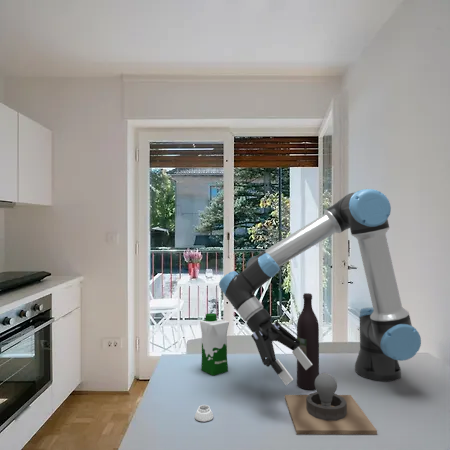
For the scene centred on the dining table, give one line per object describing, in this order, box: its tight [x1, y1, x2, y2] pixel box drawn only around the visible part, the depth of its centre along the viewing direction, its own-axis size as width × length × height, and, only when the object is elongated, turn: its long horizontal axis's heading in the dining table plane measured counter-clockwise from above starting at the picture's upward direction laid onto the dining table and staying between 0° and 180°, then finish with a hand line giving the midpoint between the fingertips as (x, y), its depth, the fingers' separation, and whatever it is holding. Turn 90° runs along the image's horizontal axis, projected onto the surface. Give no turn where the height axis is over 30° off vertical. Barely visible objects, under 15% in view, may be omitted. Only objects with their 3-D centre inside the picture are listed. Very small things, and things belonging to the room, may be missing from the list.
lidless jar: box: [194, 404, 214, 423], centre depth 102 cm, size 5×3×5 cm
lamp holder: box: [284, 391, 378, 435], centre depth 103 cm, size 20×20×4 cm
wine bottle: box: [296, 292, 320, 391], centre depth 122 cm, size 7×7×30 cm
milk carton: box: [199, 312, 230, 377], centre depth 136 cm, size 9×9×20 cm
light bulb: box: [315, 372, 338, 407], centre depth 104 cm, size 6×6×10 cm
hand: (300, 374), depth 108 cm, fingers open, 13 cm apart
